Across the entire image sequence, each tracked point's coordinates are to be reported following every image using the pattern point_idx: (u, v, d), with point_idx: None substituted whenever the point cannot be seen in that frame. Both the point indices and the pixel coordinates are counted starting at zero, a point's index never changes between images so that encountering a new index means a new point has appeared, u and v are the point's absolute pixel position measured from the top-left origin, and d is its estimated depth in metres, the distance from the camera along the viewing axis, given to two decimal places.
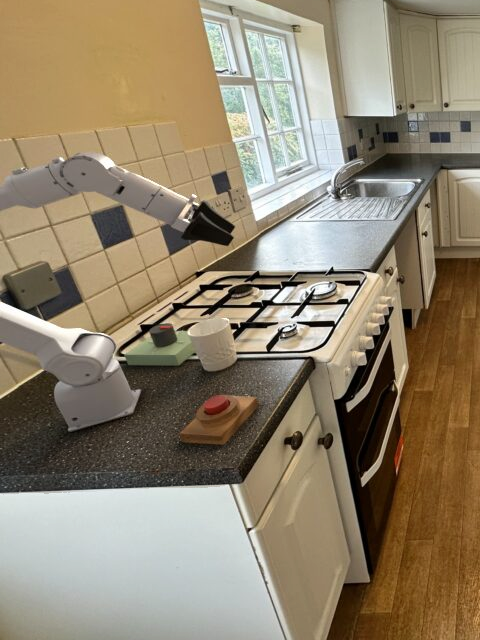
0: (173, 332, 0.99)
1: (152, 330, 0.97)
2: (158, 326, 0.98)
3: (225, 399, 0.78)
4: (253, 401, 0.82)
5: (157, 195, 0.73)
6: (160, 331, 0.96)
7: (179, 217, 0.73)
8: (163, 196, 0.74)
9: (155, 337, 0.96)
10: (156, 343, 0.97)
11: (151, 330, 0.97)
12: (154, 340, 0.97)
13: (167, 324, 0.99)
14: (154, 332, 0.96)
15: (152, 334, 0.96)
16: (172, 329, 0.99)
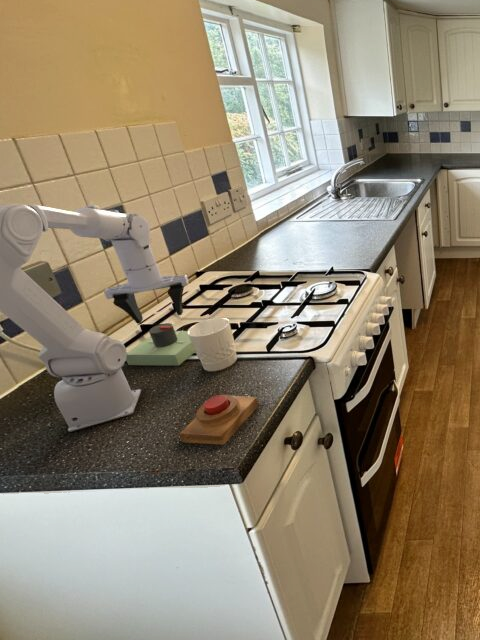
0: (173, 332, 0.99)
1: (152, 330, 0.97)
2: (158, 326, 0.98)
3: (225, 399, 0.78)
4: (253, 401, 0.82)
5: None
6: (160, 331, 0.96)
7: (183, 275, 0.97)
8: None
9: (155, 337, 0.96)
10: (156, 343, 0.97)
11: (151, 330, 0.97)
12: (154, 340, 0.97)
13: (167, 324, 0.99)
14: (154, 332, 0.96)
15: (152, 334, 0.96)
16: (172, 329, 0.99)
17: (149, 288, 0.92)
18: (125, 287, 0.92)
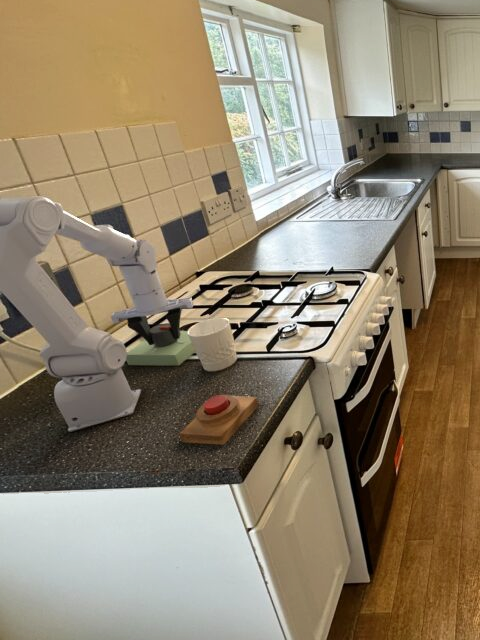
0: None
1: (152, 330, 0.97)
2: (158, 326, 0.98)
3: (225, 399, 0.78)
4: (253, 401, 0.82)
5: None
6: (160, 331, 0.96)
7: (188, 298, 0.99)
8: None
9: (155, 337, 0.96)
10: (156, 343, 0.97)
11: (151, 330, 0.97)
12: (154, 340, 0.97)
13: (167, 324, 0.99)
14: (154, 332, 0.96)
15: (152, 334, 0.96)
16: None
17: (155, 312, 0.94)
18: (131, 311, 0.94)
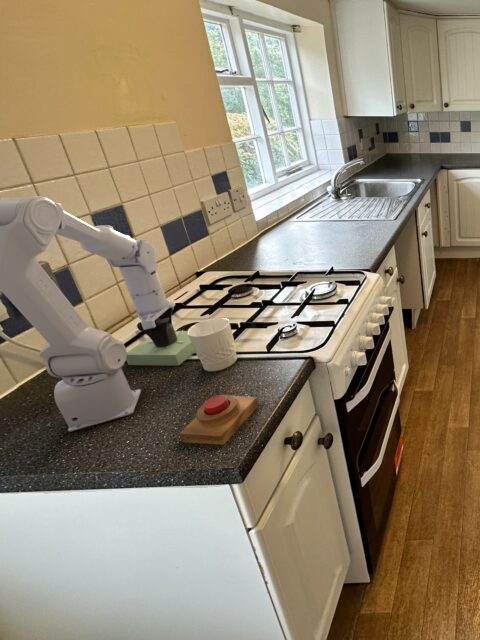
0: None
1: None
2: None
3: (225, 399, 0.78)
4: (253, 401, 0.82)
5: (154, 293, 0.93)
6: None
7: (153, 319, 0.91)
8: (156, 295, 0.94)
9: None
10: None
11: None
12: None
13: None
14: None
15: None
16: None
17: (136, 313, 0.94)
18: None
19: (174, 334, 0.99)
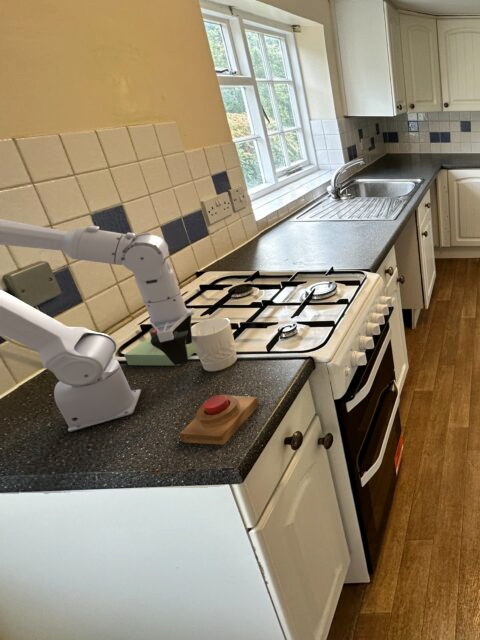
0: None
1: None
2: None
3: (225, 399, 0.78)
4: (253, 401, 0.82)
5: (171, 299, 0.80)
6: (150, 330, 0.97)
7: (171, 330, 0.77)
8: (174, 302, 0.80)
9: None
10: None
11: None
12: None
13: None
14: (152, 328, 0.98)
15: None
16: (157, 335, 0.96)
17: None
18: None
19: None
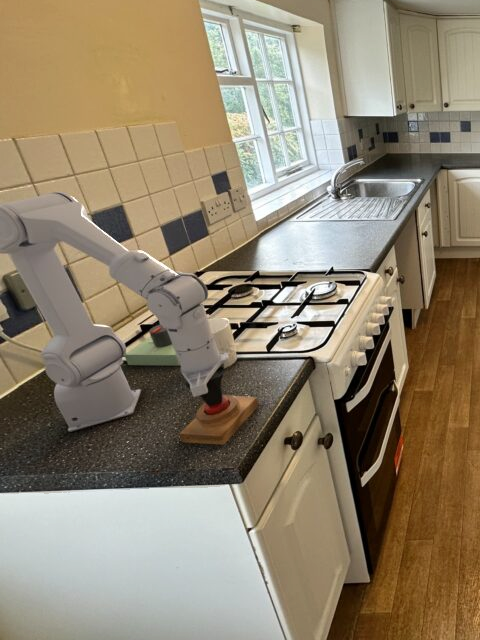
0: (158, 338, 0.96)
1: (159, 325, 0.99)
2: None
3: (225, 400, 0.78)
4: (253, 401, 0.82)
5: (205, 346, 0.71)
6: (150, 330, 0.97)
7: (205, 383, 0.69)
8: (208, 349, 0.72)
9: None
10: None
11: None
12: None
13: (165, 328, 0.97)
14: (152, 328, 0.98)
15: None
16: (157, 335, 0.96)
17: None
18: None
19: None
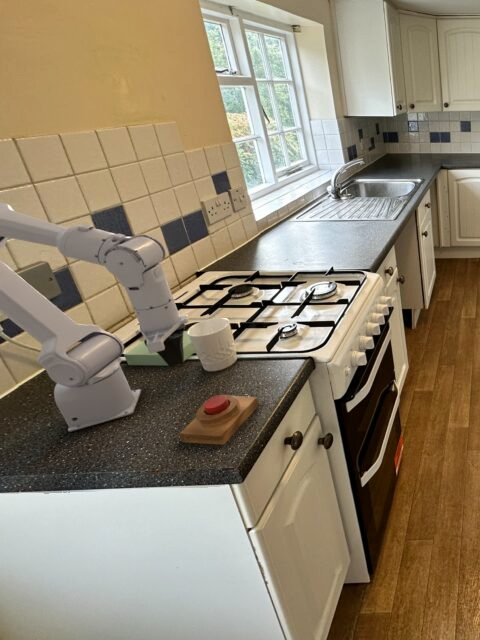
0: None
1: None
2: None
3: (225, 399, 0.78)
4: (253, 401, 0.82)
5: (163, 306, 0.74)
6: None
7: (161, 340, 0.72)
8: (166, 309, 0.74)
9: None
10: None
11: None
12: None
13: None
14: None
15: None
16: None
17: (141, 331, 0.75)
18: None
19: None
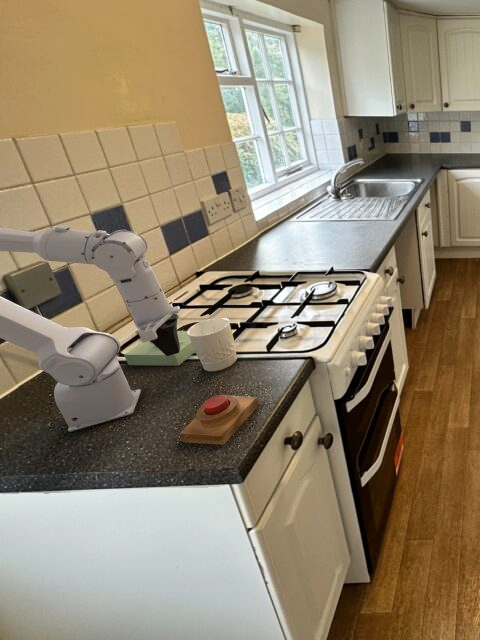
0: None
1: None
2: None
3: (225, 399, 0.78)
4: (253, 401, 0.82)
5: (152, 297, 0.76)
6: None
7: (153, 329, 0.74)
8: (156, 300, 0.77)
9: None
10: None
11: None
12: None
13: None
14: None
15: None
16: None
17: None
18: None
19: None
